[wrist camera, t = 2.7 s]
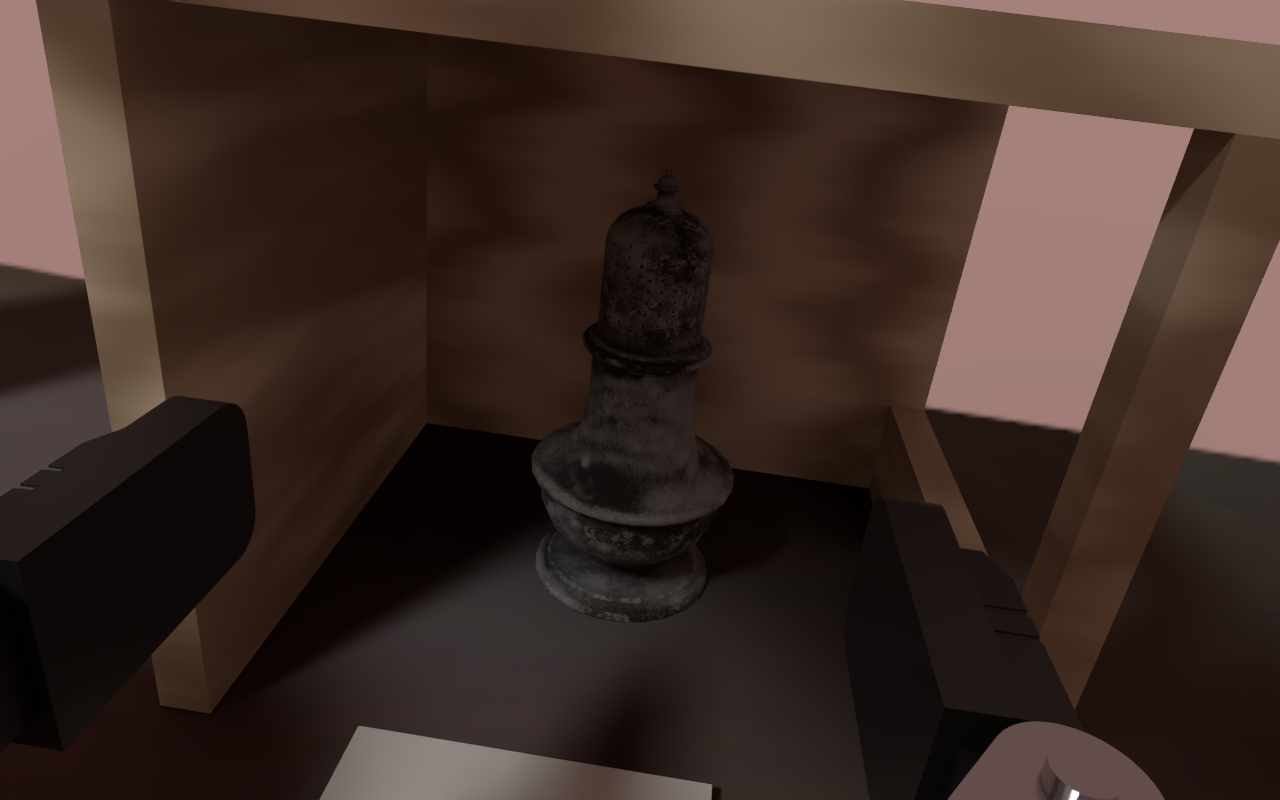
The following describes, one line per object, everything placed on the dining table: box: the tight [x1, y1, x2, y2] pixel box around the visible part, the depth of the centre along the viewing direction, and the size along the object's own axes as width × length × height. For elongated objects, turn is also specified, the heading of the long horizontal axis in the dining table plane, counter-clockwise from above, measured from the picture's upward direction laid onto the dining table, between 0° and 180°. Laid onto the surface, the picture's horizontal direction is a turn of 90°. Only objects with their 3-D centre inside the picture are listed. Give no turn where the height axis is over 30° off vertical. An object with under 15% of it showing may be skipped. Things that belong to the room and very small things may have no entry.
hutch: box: [36, 0, 1280, 714], centre depth 23 cm, size 19×16×16 cm
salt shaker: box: [532, 170, 734, 622], centre depth 24 cm, size 6×6×12 cm
